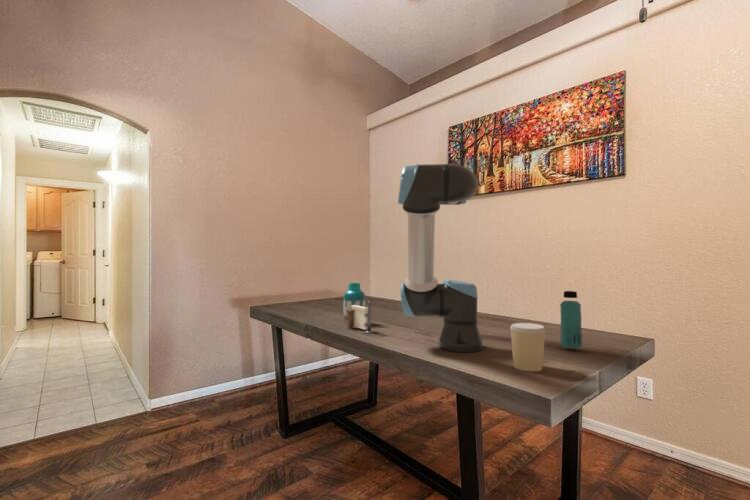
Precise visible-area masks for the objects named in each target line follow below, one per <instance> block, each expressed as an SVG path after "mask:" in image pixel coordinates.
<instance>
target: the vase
mask: <svg viewBox="0 0 750 500" xmlns="http://www.w3.org/2000/svg"><path fill="white" fill-rule="evenodd" d="M366 304H367V303H366V295H365V292H364V291H363V290H362V289H361V283H360V282H349V283H348V290H346V291H345V292H344V293H343V301H342V307H343V309H342V312H343V317H344V320H345V322H347V310H351V309H352V308H351V305H357V306H362V307H366V306H367V305H366ZM366 308H367V307H366Z"/></svg>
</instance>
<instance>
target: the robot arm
mask: <svg viewBox="0 0 750 500" xmlns="http://www.w3.org/2000/svg"><path fill="white" fill-rule="evenodd" d="M399 181H400V183H399V191H398V198H397V199H398V200H397V203H398V204H399V205H402V210H403V211H404V212H405V213H406V214H407V243H408V244H407V245H408V246H407V249H408V252H407V253H408V254H407V256H408V257H407V258H408V259H407V260H408V263H407V264H408V267H407V268H408V276H407V277H406V278H405V279H404V282H403V283H401V284H400V291H399V292H400V301H401V307H402V311H403V314H404V315H406V316H407V317H415V318H418V317H423V318H424V317H426V318H427V317H435V318H436V317H437V318H438V317H440V318H443V325H442V328H441V333H440V337H439V338H438V347H439V348H440V349H442V350H446V351H450V352H456V353H473V352H479V351H481V350H483V347H484V342H483V339H482V337H481V332H480V330H479V327H478V298H479V297H478V289H477V286H476V284H474V283H471V282H467V281H462V280H461V281H460V280H454V279H444V280H443V281H442V283H439V281H438V278H436V277H435V276H434V271H435V270H434V268H435V267H434V266H435V263H434V262H435V228H436V227H435V225H436V222H435V220H436V218H435V217H436V213H437V212H439V210H440V209H441V205H444V206H445V205H449V206H451V205H454V206H455V205H457V206H458V205H465V204H466V203H467V201H469V200H470V199H472V198H473V197H474V196H475V195H476V194H477V192H478V189H479V179H478V177H477V175H476V174H475V173H474V172H473V170H471V169H469V168H468V167H465V166H463V165H460V164H458V163H457V164H456V163H455V164H454V163H446V164H445V163H444V164H442V163H441V164H440V163H439V164H436V163H434V164H430V163H429V164H418V163H417V164H412V165H405V166H403V168H402V169H401V174H400V180H399Z"/></svg>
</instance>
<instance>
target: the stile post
mask: <svg viewBox="0 0 750 500" xmlns="http://www.w3.org/2000/svg"><path fill="white" fill-rule="evenodd" d="M346 322H347V329H348V330H352V329H353V330H354V328H355V327H354V310H352V309H351V310H347V321H346Z"/></svg>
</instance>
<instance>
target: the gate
mask: <svg viewBox="0 0 750 500" xmlns="http://www.w3.org/2000/svg"><path fill="white" fill-rule="evenodd" d="M351 308H352V310H354V328H358V329H361V330H365V331H368V307H362V306H357V305H351Z"/></svg>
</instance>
